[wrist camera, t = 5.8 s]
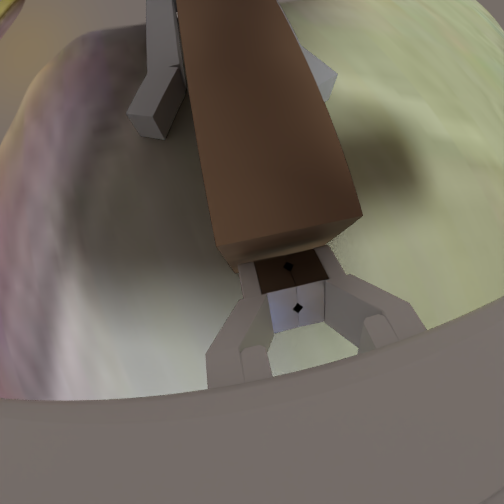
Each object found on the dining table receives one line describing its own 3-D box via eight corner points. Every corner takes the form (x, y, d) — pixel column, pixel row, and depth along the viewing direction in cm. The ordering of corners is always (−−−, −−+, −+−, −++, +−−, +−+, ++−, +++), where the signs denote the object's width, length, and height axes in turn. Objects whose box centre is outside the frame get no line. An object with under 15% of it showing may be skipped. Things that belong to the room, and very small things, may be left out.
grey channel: (141, 146, 16) (119, 114, 13) (138, 13, 18) (126, -17, 15) (332, 109, 16) (347, 72, 13) (273, -12, 18) (275, -43, 15)
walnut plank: (235, 273, 15) (216, 246, 7) (197, 79, 17) (173, -23, 9) (307, 257, 15) (363, 215, 7) (254, 68, 17) (255, -35, 9)
